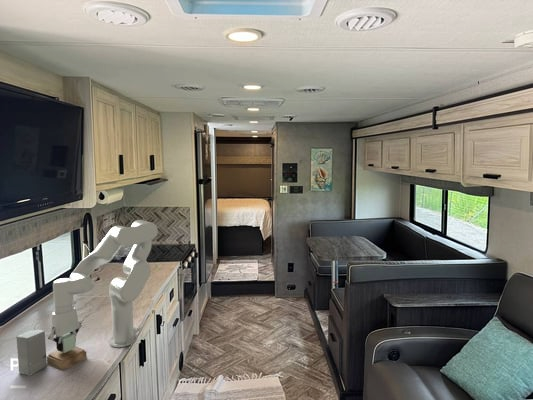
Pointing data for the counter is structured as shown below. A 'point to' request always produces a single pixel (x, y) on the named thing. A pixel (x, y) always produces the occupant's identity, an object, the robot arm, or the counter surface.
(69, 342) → the sage block
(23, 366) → the skincare box
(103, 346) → the counter surface
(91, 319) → the counter surface
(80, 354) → the walnut pedestal
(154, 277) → the counter surface
